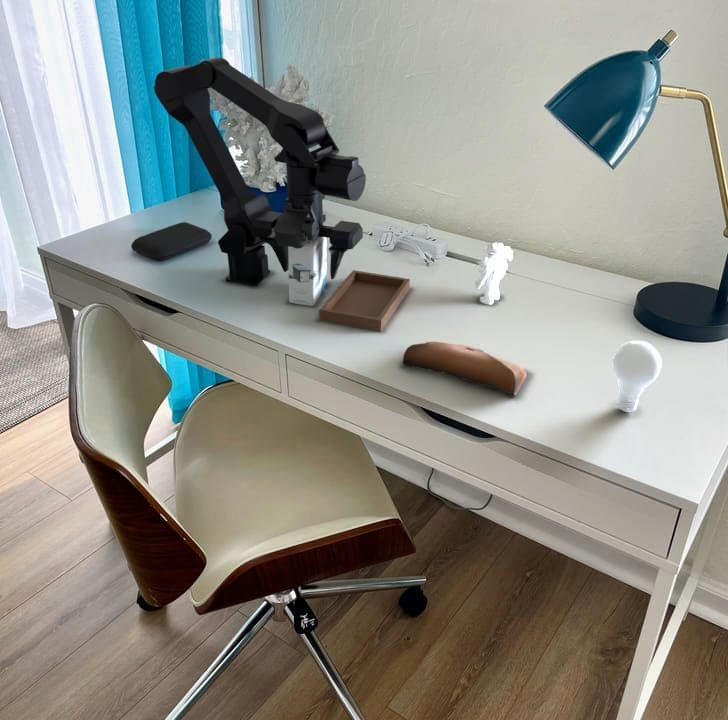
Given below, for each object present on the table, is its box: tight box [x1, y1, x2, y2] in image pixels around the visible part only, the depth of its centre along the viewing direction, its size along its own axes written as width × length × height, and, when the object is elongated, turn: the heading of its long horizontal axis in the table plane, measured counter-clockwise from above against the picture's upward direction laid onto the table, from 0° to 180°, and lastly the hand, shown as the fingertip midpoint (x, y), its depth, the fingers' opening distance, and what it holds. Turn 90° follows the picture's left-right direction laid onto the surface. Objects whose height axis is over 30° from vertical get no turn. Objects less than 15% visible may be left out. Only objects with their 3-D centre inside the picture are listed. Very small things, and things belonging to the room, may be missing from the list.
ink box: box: [288, 236, 327, 307], centre depth 131 cm, size 9×5×12 cm, turn 169°
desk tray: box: [318, 269, 411, 332], centre depth 131 cm, size 11×17×2 cm
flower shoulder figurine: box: [474, 241, 514, 305], centre depth 130 cm, size 9×4×12 cm, turn 140°
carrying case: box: [131, 221, 213, 262], centre depth 150 cm, size 11×3×15 cm
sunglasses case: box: [402, 341, 529, 397], centre depth 112 cm, size 18×7×7 cm
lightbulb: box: [612, 340, 662, 413], centre depth 102 cm, size 6×6×11 cm
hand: (309, 274), depth 132 cm, fingers open, 9 cm apart
